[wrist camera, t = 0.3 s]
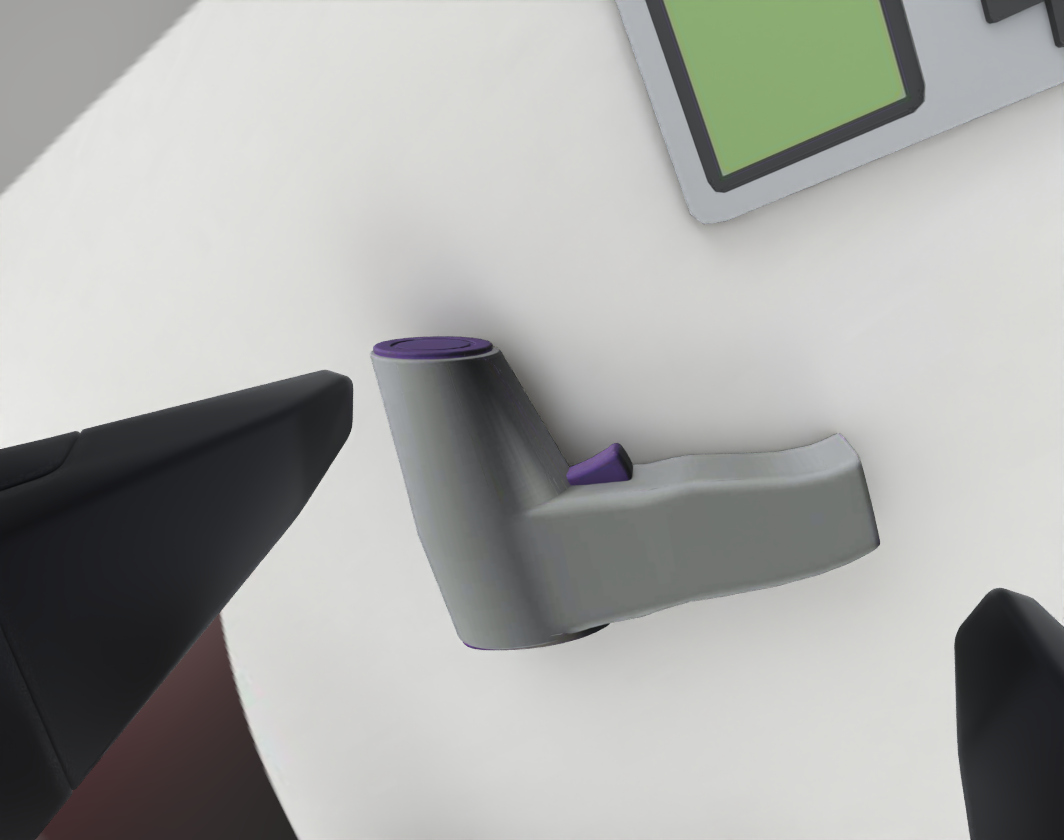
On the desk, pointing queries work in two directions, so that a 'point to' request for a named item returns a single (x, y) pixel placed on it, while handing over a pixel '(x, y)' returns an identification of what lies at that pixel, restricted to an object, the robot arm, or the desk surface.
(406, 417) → the infrared thermometer
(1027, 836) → the robot arm
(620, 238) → the desk surface
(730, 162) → the handheld gaming console
